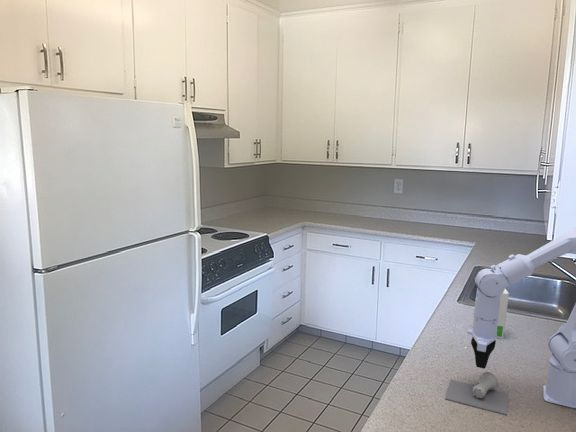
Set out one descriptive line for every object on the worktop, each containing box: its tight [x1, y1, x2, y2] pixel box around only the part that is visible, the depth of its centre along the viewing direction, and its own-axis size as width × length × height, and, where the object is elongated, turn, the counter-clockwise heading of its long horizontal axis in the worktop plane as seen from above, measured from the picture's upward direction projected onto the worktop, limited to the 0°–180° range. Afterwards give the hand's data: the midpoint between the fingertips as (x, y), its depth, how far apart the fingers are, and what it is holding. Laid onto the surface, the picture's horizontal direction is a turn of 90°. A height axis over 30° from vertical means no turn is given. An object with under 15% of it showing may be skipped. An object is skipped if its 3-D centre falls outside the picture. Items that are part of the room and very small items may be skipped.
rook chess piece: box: [473, 371, 499, 398], centre depth 119 cm, size 4×4×8 cm
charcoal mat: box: [444, 379, 509, 416], centre depth 118 cm, size 14×10×1 cm
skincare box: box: [497, 288, 510, 340], centre depth 155 cm, size 8×7×16 cm
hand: (480, 366), depth 121 cm, fingers closed
